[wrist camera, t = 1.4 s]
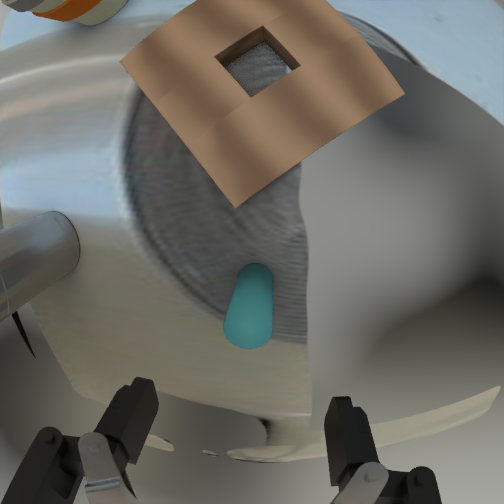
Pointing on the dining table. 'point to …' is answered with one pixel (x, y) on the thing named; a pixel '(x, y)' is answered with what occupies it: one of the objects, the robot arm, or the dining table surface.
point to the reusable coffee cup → (70, 9)
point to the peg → (250, 308)
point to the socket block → (269, 99)
